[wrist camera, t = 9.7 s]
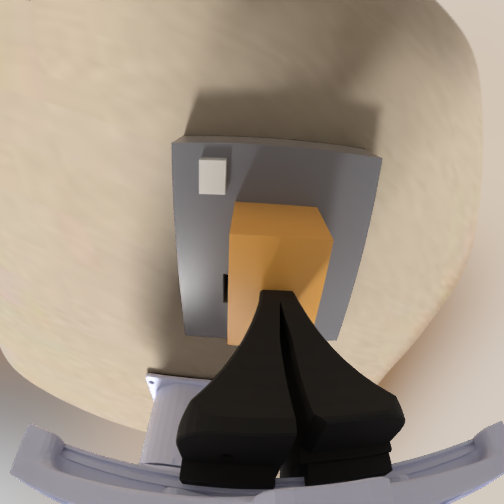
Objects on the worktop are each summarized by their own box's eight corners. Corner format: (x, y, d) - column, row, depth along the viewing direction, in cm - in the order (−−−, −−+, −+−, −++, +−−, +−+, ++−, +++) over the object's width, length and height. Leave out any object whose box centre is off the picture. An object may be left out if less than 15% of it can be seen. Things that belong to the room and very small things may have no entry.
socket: (329, 316, 21) (338, 346, 18) (191, 310, 21) (183, 341, 18) (365, 148, 15) (387, 161, 12) (183, 135, 15) (168, 145, 12)
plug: (296, 283, 19) (308, 347, 14) (233, 280, 19) (227, 344, 14) (310, 194, 16) (333, 240, 11) (237, 189, 16) (229, 233, 11)
